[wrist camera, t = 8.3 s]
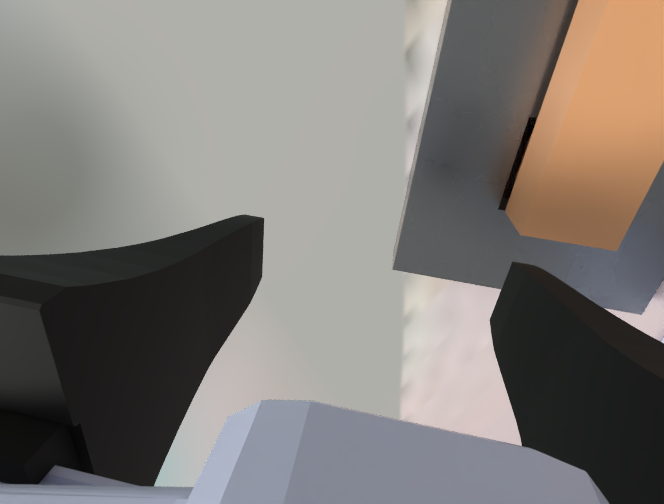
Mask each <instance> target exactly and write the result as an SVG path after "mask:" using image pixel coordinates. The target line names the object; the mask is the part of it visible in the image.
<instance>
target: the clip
mask: <svg viewBox="0 0 664 504" xmlns="http://www.w3.org/2000/svg"><path fill="white" fill-rule="evenodd" d="M663 161H664V0H579V1H578V4H577V6H576V9H575V12H574V15H573V18H572V21H571V24H570V26H569V29H568V32H567V35H566V38H565V41H564V44H563V47H562V49H561V52H560V55H559V58H558V61H557V64H556V67H555V69H554V72H553V75H552V78H551V81H550V84H549V87H548V89H547V92H546V95H545V98H544V101H543V104H542V107H541V109H540V112H539V115H538V118H537V121H536V124H535V127H534V130H533V132H532V134H530V136H529V139H528V142H527V144H526V147H525V150H524V153H523V156H522V159H521V162H520V165H519V167H518V170H517V173H516V176H515V177H516V181H515V184H514V187H513V190H512V193H511V195H510V198H509V201H508V204H507V207H506V210H505V213H506V214H507V216H508V217H509V219H510V220H511V222H512V223H513V225H514V226H515V228H516V229H517V231H518V232H519V234H520V235H523V236H529V237H535V238H541V239H547V240H553V241H559V242H565V243H571V244H577V245H583V246H589V247H595V248H601V249H607V250H612V251H617V249H618V248H619V246H620V244H621V242H622V240H623V238H624V236H625V234H626V232H627V230H628V228H629V226H630V225H631V223H632V221H633V219H634V217H635V215H636V213H637V211H638V209H639V207H640V205H641V203H642V202H643V200H644V198H645V196H646V194H647V192H648V190H649V188H650V186H651V184H652V182H653V180H654V179H655V177H656V175H657V173H658V171H659V169H660V167H661V165H662V163H663Z"/></svg>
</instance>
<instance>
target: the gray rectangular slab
mask: <svg viewBox="0 0 664 504" xmlns="http://www.w3.org/2000/svg"><path fill="white" fill-rule="evenodd" d="M578 1H579V0H448V1H447V6H446V11H445V15H444V20H443V25H442V29H441V34H440V39H439V43H438V48H437V52H436V57H435V62H434V66H433V71H432V76H431V80H430V85H429V90H428V94H427V99H426V103H425V108H424V113H423V117H422V122H421V127H420V131H419V136H418V141H417V145H416V150H415V155H414V159H413V164H412V168H411V173H410V178H409V182H408V187H407V192H406V196H405V201H404V206H403V210H402V215H401V219H400V224H399V229H398V234H397V238H396V243H395V247H394V253H393V270H398V271H404V272H409V273H415V274H420V275H426V276H431V277H437V278H442V279H448V280H453V281H459V282H464V283H470V284H475V285H481V286H486V287H492V288H497V289H502V287H503V284H504V282H505V279H506V277H507V274H508V271H509V269H510V266H511V264H512V261H513V262H518V263H524V264H530V265H535V266H537V267H540V268H542V269H543V270H545V271H547V272H549V273H550V274H552V275H554V276H555V277H557V278H558V279H560V280H561V281H563V282H564V283H566V284H567V285H569V286H570V287H572V288H573V289H575V290H576V291H578V292H579V293H581V294H582V295H584V296H585V297H587V298H588V299H590V300H591V301H593V302H594V303H596V304H597V305H599V306H601V307H602V308H607V309H613V310H618V311H624V312H629V313H635V314H640V315H642V313H643V312H644V310H645V308H646V307H647V305H648V304H649V302H650V300H651V299H652V297H653V295H654V294H655V292H656V290H657V289H658V287H659V286H660V284H661V282H662V281H663V279H664V161H663V163H662V165H661V167H660V169H659V171H658V173H657V175H656V177H655V179H654V180H653V182H652V184H651V186H650V188H649V190H648V192H647V194H646V196H645V198H644V200H643V202H642V203H641V205H640V207H639V209H638V211H637V213H636V215H635V217H634V219H633V221H632V223H631V225H630V226H629V228H628V230H627V232H626V234H625V236H624V238H623V240H622V242H621V244H620V246H619V248H618V249H617V251H612V250H607V249H601V248H595V247H589V246H583V245H577V244H571V243H565V242H559V241H553V240H547V239H541V238H535V237H529V236H523V235H520V234H519V232H518V231H517V229H516V228H515V226H514V225H513V223H512V222H511V220H510V219H509V217H508V216H507V214H506V213H505V210H506V207H507V204H508V201H509V198H503V197H502V196H503V193H504V190H505V187H506V184H507V181H508V178H509V175H510V172H511V169H512V166H513V163H514V160H515V157H516V154H517V152H518V149H519V146H520V143H521V140H522V137H523V134H524V131H525V128H526V125H527V122H528V119H529V117H534V118H538V115H539V112H540V109H541V107H542V104H543V101H544V98H545V95H546V92H547V89H548V87H549V84H550V81H551V78H552V75H553V72H554V69H555V67H556V64H557V61H558V58H559V55H560V52H561V49H562V47H563V44H564V41H565V38H566V35H567V32H568V29H569V26H570V24H571V21H572V18H573V15H574V12H575V9H576V6H577V4H578Z"/></svg>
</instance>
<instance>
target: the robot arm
mask: <svg viewBox="0 0 664 504" xmlns="http://www.w3.org/2000/svg"><path fill="white" fill-rule="evenodd" d="M263 236H264V218H261V217H255V216H249V215H239V216H235V217H231V218H228V219H225V220H222V221H219V222H216V223H213V224H209V225H206V226H204V227H200V228H197V229H194V230H191V231H188V232H184V233H180V234H177V235H173V236H170V237H167V238H163V239H159V240H155V241H150V242H146V243H141V244H136V245H131V246H125V247H119V248H111V249H104V250H96V251H88V252H79V253H66V254H50V255H24V256H0V504H664V338H663V339H662V341H661V342H660V341H658V340H656V339H654V338H652V337H651V336H649V335H647V334H645V333H643V332H642V331H640V330H638V329H636V328H635V327H633V326H631V325H630V324H628V323H626V322H625V321H623V320H621V319H620V318H618V317H616V316H615V315H613V314H612V313H610V312H608V311H607V310H605V309H604V308H602V307H601V306H599V305H597V304H596V303H594V302H593V301H591V300H590V299H588V298H587V297H585V296H584V295H582V294H581V293H579V292H578V291H576V290H575V289H573V288H572V287H570V286H569V285H567V284H566V283H564V282H563V281H561V280H560V279H558V278H557V277H555V276H554V275H552V274H550V273H549V272H547V271H545V270H543V269H542V268H540V267H537V266H535V265H530V264H524V263H518V262H513V261H512V264H511V266H510V269H509V271H508V274H507V277H506V279H505V282H504V284H503V287H502V290H501V292H500V295H499V297H498V300H497V303H496V305H495V308H494V310H493V313H492V316H491V318H490V325H491V333H492V340H493V346H494V351H495V355H496V358H497V361H498V365H499V368H500V371H501V374H502V378H503V381H504V384H505V387H506V390H507V393H508V396H509V400H510V403H511V406H512V409H513V412H514V415H515V418H516V422H517V426H518V430H519V433H520V437H521V443H522V446H518V445H514V444H509V443H505V442H500V441H495V440H491V439H486V438H482V437H477V436H472V435H468V434H463V433H458V432H454V431H449V430H445V429H440V428H435V427H431V426H426V425H422V424H417V423H412V422H408V421H403V420H398V419H394V418H389V417H384V416H380V415H375V414H370V413H366V412H361V411H357V410H352V409H348V408H343V407H338V406H333V405H329V404H324V403H320V402H315V401H302V400H301V401H300V400H298V401H297V400H262V401H260V402H257V403H256V404H254V405H251V406H249V407H247V408H245V409H243V410H241V411H239V412H237V413H235V414H233V415H231V416H229V417H228V418H227V420H226V422H225V424H224V426H223V428H222V430H221V432H220V435H219V436H218V438H217V441H216V443H215V445H214V447H213V449H212V451H211V453H210V455H209V457H208V459H207V461H206V463H205V465H204V467H203V470H202V472H201V474H200V476H199V478H198V480H197V482H196V484H195V486H194V487H153V486H154V484H155V481H156V479H157V477H158V474H159V472H160V469H161V467H162V465H163V463H164V461H165V458H166V456H167V454H168V452H169V449H170V447H171V445H172V443H173V440H174V438H175V436H176V434H177V431H178V429H179V427H180V425H181V423H182V421H183V419H184V417H185V414H186V412H187V410H188V408H189V406H190V404H191V402H192V399H193V398H194V395H195V393H196V392H197V390H198V387H199V386H200V384H201V382H202V380H203V378H204V376H205V374H206V371H207V370H208V368H209V366H210V365H211V363H212V361H213V359H214V358H215V356H216V355H217V353H218V351H219V350H220V348H221V347H222V345H223V344H224V342H225V341H226V339H227V338H228V336H229V335H230V333H231V332H232V330H233V329H234V327H235V325H236V324H237V323H238V321H239V319H240V318H241V316H242V315H243V313H244V312H245V310H246V309H247V307H248V305H249V304H250V302H251V300H252V298H253V296H254V294H255V292H256V290H257V287H258V285H259V282H260V280H261V278H262V263H263Z"/></svg>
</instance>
